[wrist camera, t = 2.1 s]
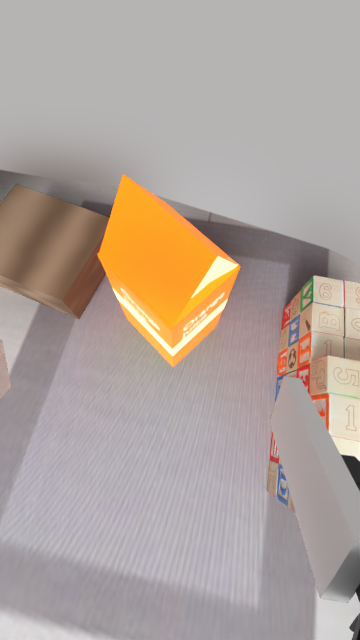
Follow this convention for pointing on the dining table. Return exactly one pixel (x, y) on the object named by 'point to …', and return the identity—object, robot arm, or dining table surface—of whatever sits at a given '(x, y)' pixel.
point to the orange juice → (164, 271)
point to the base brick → (50, 250)
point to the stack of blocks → (322, 364)
